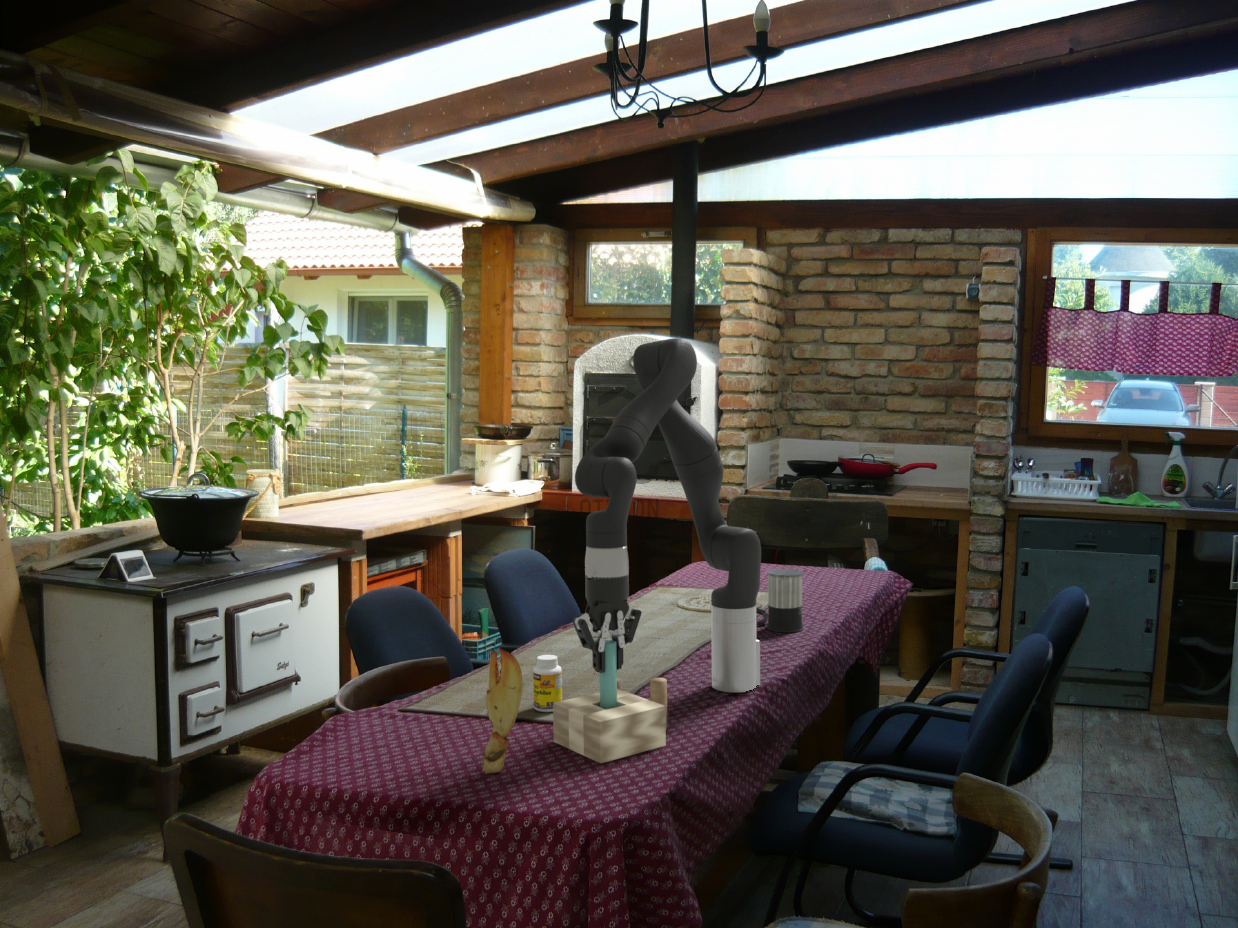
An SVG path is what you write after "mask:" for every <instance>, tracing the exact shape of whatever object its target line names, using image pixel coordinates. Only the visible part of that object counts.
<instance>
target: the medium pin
mask: <svg viewBox="0 0 1238 928" xmlns="http://www.w3.org/2000/svg"><path fill="white" fill-rule="evenodd" d="M649 681H650V682H649V685H650V688H649V689H650V690H649V691H650V692H649V695H650V697H649V698H650V699H649V700H650V701H653V702H656V703H659V704H661V705H664V706H665V711H666V731H667V730H668V692H667V691H668V685H667V684H668V683H667V682H668V680H667V678H664V677H654V678H651V679H650V680H649Z"/></svg>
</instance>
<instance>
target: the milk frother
mask: <svg viewBox="0 0 1238 928" xmlns="http://www.w3.org/2000/svg"><path fill="white" fill-rule="evenodd" d="M766 573H767V576H768V577H767V579H768V580H767V581H768V582H767V583H768V584H767V588H768V589H767V590H768V591H767V593H768V594H767V596H768V601H767V602H768V603H767V604H768V605H767V606H768V611H765V610H764V609H762V608H757V607H756V615H757V614H758V615H760V616H762V619H760V620H756V627H757V626H762V625H763V624H765V623H766V622H767V625H766V628H767V630H769V631H771V632H777V633H797V632H801V631H803V630H804V626H803V623H804V621H803V574H804V572H803V571H802V570H799V569H793V568H792V569H791V568H777V569H775V568H773V569H770V570H767V571H766Z"/></svg>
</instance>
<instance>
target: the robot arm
mask: <svg viewBox="0 0 1238 928" xmlns="http://www.w3.org/2000/svg"><path fill="white" fill-rule="evenodd" d="M632 355H633V356H632V363H633V364H632V366H633V370H634V374H635V378H636V380H637V382H638V384H639V387H640V389H641V392H640V393H639V394H638V395H637V396H635V397H634V398H633V399H632V400H630V401H629V402H628V403H627V404H626V405H625V406H624V407H623V408H622V409H621V410H620V411H619V412H618V414H617V415H616V417H615V419H614V420H613V421H612V423H611V425H610V427H609V429H608V431H607V433H606V435H605V436H604V437H603V438H601V439H600V440H599V441H597V443H595V445H593V446H592V447H591V448H590V449H589V450H588V451H587V452H586V453H585V454H584V455H583V457H582V458H581V460H579V462H578V465H577V466H576V469H575V472H574V482H575V484H574V485H575V486H576V488H577V490H578V491H579V492H580V493H581V494H582V495H583V496H585V497H590V498H591V497H592V498H609V500H608V501H609V502H608V504H607V507H605V509H603V510H602V509H601V510H596V511H593V512H591V513H588V515H587V517H586V519H585V520H586V521H585V532H586V533H585V535H586V536H585V537H586V538H585V541H586V542H585V543H586V545H585V546H586V548H585V549H586V550H585V555H584V556H585V557H584V567H585V568H584V572H585V573H584V575H585V576H584V578H585V579H584V580H585V583H584V584H585V585H584V586H585V589H584V590H585V599H586V602H587V603H586V608H585V610H584V614H582V615H581V616H579V617H577V616H575V617H573V618H572V621H571V623H572V625H573V627H574V629H575V632H576V635H577V636H578V639H579V642H580V644H581V646H582V648H585V649H588V650H590V651H591V652H592V656H591V657H592V669H594V671H595V672H596V673H598V674H599V673H604V672H605V652H604V646H605V640H607V638H608V636H609V637H610V640H613V641H616V654H617V671H618V670H621V669H622V666H623V665H624V648H625V647H626V645H628V643H629V644H632V642H633V641H634V638H635V634H636V631H637V628H638V625H639V623H640V620H641V616H642V610H640V609H637V608H632V607H630V605H629V603H628V599H629V595H630V590H629V589H630V584H629V583H630V582H629V580H630V579H629V576H630V574H629V573H630V572H629V571H630V570H629V569H630V566H629V553H628V533H627V532H628V531H627V530H628V528H627V524H628V518H629V513H630V508H631V504H632V501H633V497H634V493H635V490H636V485H637V482H638V481H637V478H638V477H637V470H636V467H635V465H634V464H633V463H634V462H636V461H637V460H638V459H639V458H640V457H641V455H642V453H643V450H644V449H645V447H646V445H647V443H648V442H649V439H650V437H651V435H652V433H653V432H654V430H655V428H656V427H657V426H658V427H659V429H660V432H661V434H662V436H663V439H664V442H665V444H666V447H667V449H668V452H669V455H670V458H671V461H672V464H673V467H674V469H675V472H676V475H677V478H678V480H679V482H680V484H681V486H682V489H683V491H684V495H685V497H686V501H687V504H688V506H689V509H690V512H691V513H690V514H691V516H692V519H693V523H694V526H695V530H696V534H697V538H698V541H699V546H700V550H701V553H702V555H703V558H704V560H705V562H706V564H708V566H710V567H711V568H713V569H715V570H718V571H722V572H723V571H724V572H728V577H727V583H726V585H723V586H722V587H717V588H715V589H714V590H712V592H711V594H710V596H711V597H710V604H711V608H710V610H711V611H710V612H711V614H710V617H711V619H710V622H711V624H710V625H711V628H710V629H711V687H712V688H713V689H714V690H716V691H720V692H724V693H747V692H746V691H748V692H750V691H749V690H752V691H754V690H755V689H754V688H756V689H757V687H758V686H757V685H760V686H761V641H760V640H759V639H757V626H756V621H757V613H756V608H757V597H758V595H759V590H760V585H761V564H762V546H761V539H760V538H759V535H758V534H757V533H756V532H755V531H754V530H753V529H750V528H747V527H746V528H745V527H740V526H730V525H728V524H727V522H726V520H725V518H724V516H723V513H722V511H721V506H720V501H719V500H720V499H719V498H720V494H721V493H720V492H721V489H722V485H723V480H724V471H725V469H724V464H723V461H722V458H721V455H720V453H719V449H718V447H717V443H716V442H715V439H714V437H713V436H712V434H711V433H710V432H709V431H708V430H707V429H706V428H705V427H704V426H703V425H702V424H701V423H700V422H699V421H698V420H697V419H695V418H694V417H693V416H692V415H691V414H689V413H688V412H687V410H685V408H684V407H682V405H681V404H680V403H679V401H678V398H679V397H680V396H681V394H683V392H684V391H685V390H686V389H687V388H688V386H689V385H690V384H691V383H692V380H693V379H694V377H695V374H696V372H697V366H698V359H697V354H696V351H695V348H694V346H693V345H692V343H691V342H689V341H688V340H687V339H685V338H682V337H681V338H680V337H674V338H673V337H672V338H667V339H663V340H656V341H651V342H646V343H643V344H640V345H638V346H636V348H635V350H634V353H633V354H632ZM589 627H590V628H589ZM756 686H757V687H756ZM753 689H754V690H753Z"/></svg>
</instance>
